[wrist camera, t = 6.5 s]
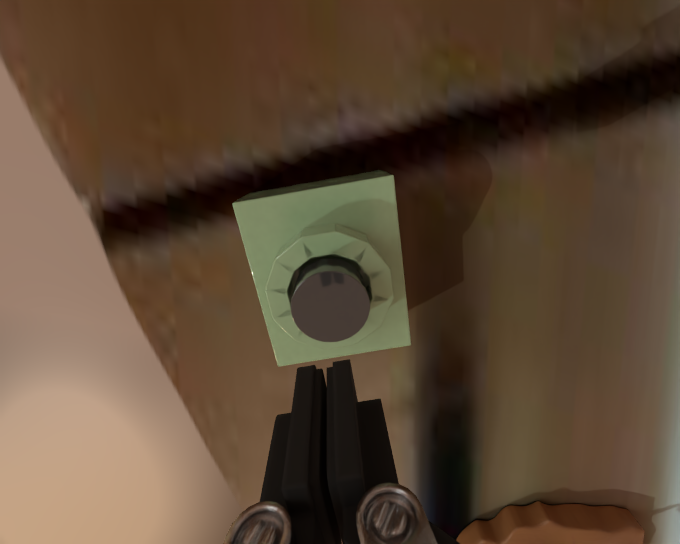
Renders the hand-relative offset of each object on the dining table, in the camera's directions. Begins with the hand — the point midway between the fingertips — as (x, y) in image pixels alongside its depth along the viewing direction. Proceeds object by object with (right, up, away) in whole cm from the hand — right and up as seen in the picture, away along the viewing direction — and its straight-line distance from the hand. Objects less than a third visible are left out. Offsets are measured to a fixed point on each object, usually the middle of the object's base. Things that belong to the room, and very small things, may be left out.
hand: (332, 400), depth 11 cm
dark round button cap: (0, +3, +8) cm, 9 cm away
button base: (0, +5, +13) cm, 14 cm away
